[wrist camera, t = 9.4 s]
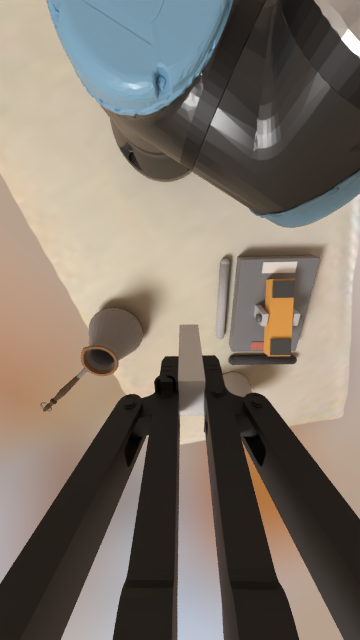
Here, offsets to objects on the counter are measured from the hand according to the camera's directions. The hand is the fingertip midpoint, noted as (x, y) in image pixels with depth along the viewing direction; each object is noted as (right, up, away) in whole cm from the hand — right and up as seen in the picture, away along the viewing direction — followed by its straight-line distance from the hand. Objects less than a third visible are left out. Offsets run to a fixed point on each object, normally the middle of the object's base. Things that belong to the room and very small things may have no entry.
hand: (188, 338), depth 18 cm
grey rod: (+8, +6, +27) cm, 28 cm away
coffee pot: (-18, -3, +31) cm, 36 cm away
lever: (+18, +2, +22) cm, 28 cm away
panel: (+18, +5, +27) cm, 32 cm away
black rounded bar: (+19, -8, +33) cm, 39 cm away
